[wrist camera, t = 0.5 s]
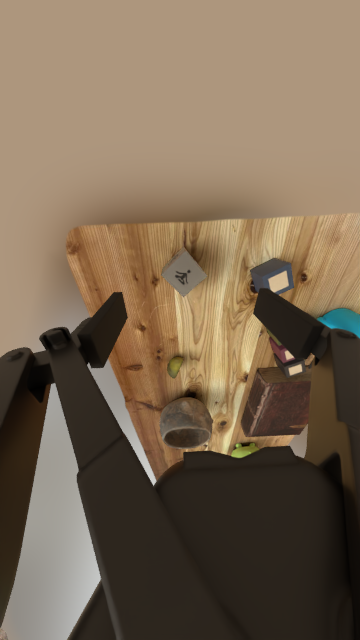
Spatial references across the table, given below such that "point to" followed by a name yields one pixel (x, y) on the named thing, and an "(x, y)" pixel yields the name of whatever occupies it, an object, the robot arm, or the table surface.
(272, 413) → the hardback book
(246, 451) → the teapot
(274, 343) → the block
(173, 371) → the lime
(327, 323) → the mug
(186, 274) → the dice cube
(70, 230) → the table surface
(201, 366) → the table surface
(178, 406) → the bowl
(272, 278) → the block
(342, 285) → the table surface
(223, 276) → the table surface
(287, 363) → the block
